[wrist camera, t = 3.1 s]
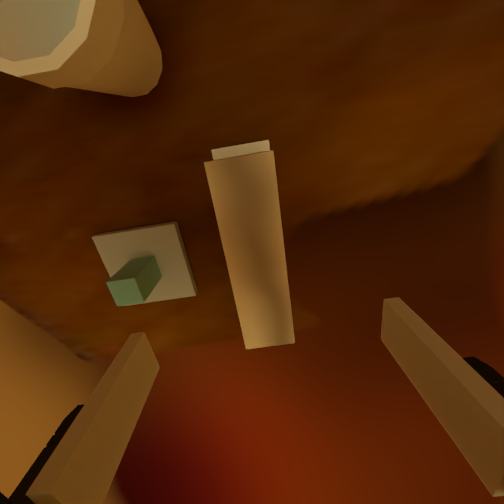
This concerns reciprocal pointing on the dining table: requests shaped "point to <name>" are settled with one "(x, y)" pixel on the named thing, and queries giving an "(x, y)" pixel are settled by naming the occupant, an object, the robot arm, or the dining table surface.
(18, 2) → the foam cup
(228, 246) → the bar
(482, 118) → the dining table surface
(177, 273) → the fulcrum
